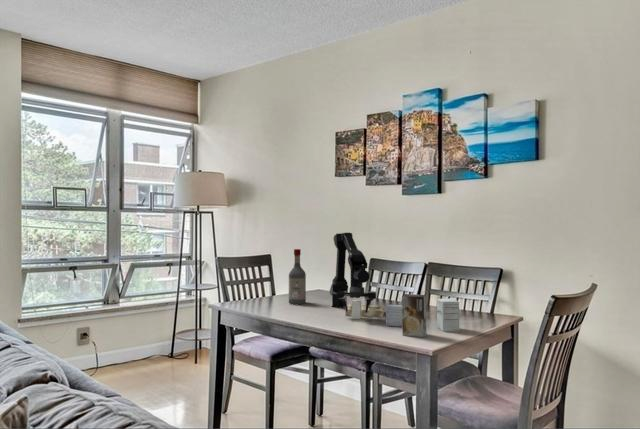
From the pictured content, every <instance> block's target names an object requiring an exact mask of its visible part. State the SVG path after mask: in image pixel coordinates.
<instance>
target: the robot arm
mask: <svg viewBox="0 0 640 429" xmlns="http://www.w3.org/2000/svg"><path fill="white" fill-rule="evenodd" d="M333 244H334V246H335V248H336V264H335V265H336V267H335V276H334V278H332V282H331V285H330V288H329V295H330V296H331V297H332V298H331V300H332V301H331V303H332V304H331V308H332V307H333V308H344V309H345V310H346V313H347V312H348V307H347V306H348V298H347V297H349V298H351V299H354V298H357V299H360V298H363V297H364V298H366V304H365V305H366V313H367V311H368V307H369V305H370V304H371V302H372V301H374V300H376V299H377V298H378V296H377V294H378V293H377V292H376V291H375V290H374V291H371V290H369V291H367V292H365V287H364V286H363V285H364V284H365V283H367V282H368V281H369V279H370V273H369V272H368V271H367V270H366V269H368V262H367V259H366V257H365V255H364V253H363V252H362V250H359V248H358V247H357V245H356V242H355V240H354V237H353V233H352V232H340V233H336V234H334V235H333ZM346 252H347V253H348V256H347V255H346V254H347V253H346ZM346 256H347V263H348V266H349V270H350V287H349V285H348V281H347V279H346V278H345V274H346V273H345V271H346Z"/></svg>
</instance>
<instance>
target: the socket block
mask: <svg viewBox="0 0 640 429" xmlns="http://www.w3.org/2000/svg"><path fill="white" fill-rule="evenodd" d="M347 307H348V312H347V313H346V310H345V312H344V314H345V315H344V316H346V317H347V316H348V317H352V304H347ZM384 314H385V305H372V304H371V305H370V304H369V307H368V311H367V313H366V304H361V317H370V318H371V317H372V318H374V317H376V318H383V317H384Z"/></svg>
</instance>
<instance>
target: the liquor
mask: <svg viewBox="0 0 640 429" xmlns="http://www.w3.org/2000/svg"><path fill="white" fill-rule="evenodd" d="M293 255H294V264H293V267H292V268H291V270H290V272H289V274H288V304H289V303H290V304H289V305H292V304H302V305H305V304H306V300H307V299H306V298H307V297H306V296H307V295H306V294H307V293H306V292H307V289H306V288H307V287H306V286H307V285H306V284H307V283H306V282H307V281H306V277H307V273H306V271H305V270H304V269H303V268H302V266H301V255H302V254H301V249H300V248H297V249H296V248H294V249H293Z"/></svg>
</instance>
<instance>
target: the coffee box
mask: <svg viewBox="0 0 640 429" xmlns="http://www.w3.org/2000/svg"><path fill="white" fill-rule="evenodd" d="M401 305H402V326H401V329H402V336H405V337H406V336H407V337H416V338H417V337H419V338H426V335H427V334H428V331H427V295H426V294H413V293H404V294H402V296H401Z"/></svg>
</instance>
